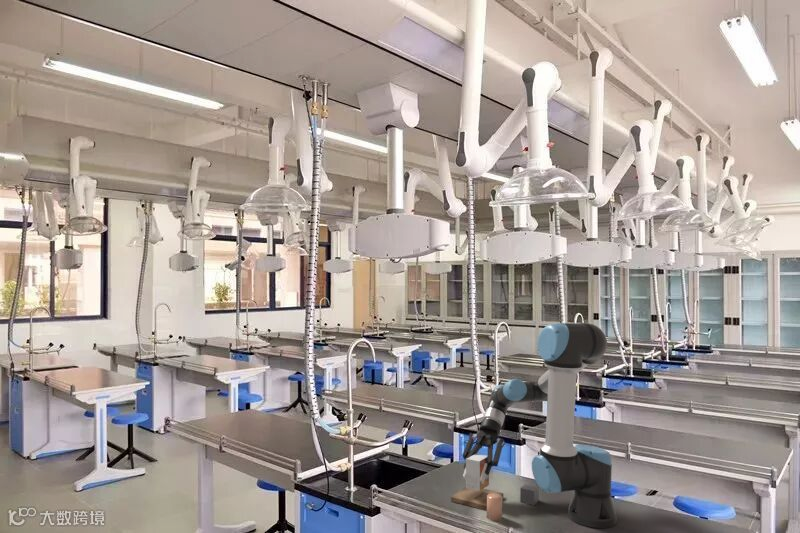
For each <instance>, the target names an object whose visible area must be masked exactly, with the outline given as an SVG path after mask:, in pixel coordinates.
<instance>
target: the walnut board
mask: <svg viewBox="0 0 800 533" xmlns="http://www.w3.org/2000/svg"><path fill="white" fill-rule="evenodd" d="M492 493H495V494H499V495H501V496H502V499H504V492H499V491H495V490H491V489H487V488H483V489H482V490H481V491H476V490H471V489H467V488H466V486H464V487H463V488H462V489H460V490H459V491H458V492H456V493H455V494H453V495H451V497H450V502H452V503H456V504H460V505H464V506H469V507H471V508H472V507H473V508H476V509H480V510H484V511H487V495H488V494H492Z"/></svg>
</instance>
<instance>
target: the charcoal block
mask: <svg viewBox="0 0 800 533" xmlns="http://www.w3.org/2000/svg"><path fill="white" fill-rule="evenodd" d="M539 490H540V487H539V486H538V485H532V484H527V483H525V484H523V485H522V486H521V487H520V494H519V496H520V497H519V498H520V499H519V500H520V501H519V502H520V503H523V504H526V503H527V504H526V505H530V504H531V506H536V504H537V503H539V501H540V500H539V498H540V495H539V494H540V491H539Z"/></svg>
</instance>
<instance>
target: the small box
mask: <svg viewBox="0 0 800 533" xmlns="http://www.w3.org/2000/svg"><path fill="white" fill-rule="evenodd" d="M487 457H488V454H486V455H485V454H480V453H477V454H476V453H475V454H474V455H472V456H471V457H469V458H467V459H466V460H465V461H466V480H465V487H466V488H467V489H471V490H476V491H481V490H482V489H486V488H487V487H488V486H490V474H489V475H486V478H485V481H484V484H481V482H480V476H481V473H482V470H483V467H484V464H485V463H487ZM487 464H488V463H487Z"/></svg>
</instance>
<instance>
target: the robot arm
mask: <svg viewBox="0 0 800 533" xmlns="http://www.w3.org/2000/svg"><path fill="white" fill-rule="evenodd" d="M607 340H608V339H607V337H606V334H605V333H604V331H603V330H602V329H601V328H600V327H598V326H597V325H595V324H593V323H590V322H589V323H588V322H581V323H577V322H574V323H573V322H572V323H571V322H570V323H569V322H564V323H562V322H558V323H550V324H547V325H546V326H544V328H543V329H542V330H540V333H539V336H538V339H537V351H538V354H539V356H540V357H541V360H544V366H545V367H547V369H548V370H546V371H545V372H544V373H543V374H542V375H541V376H540V377H539V378H537V379H536V380H533V381H530V380H529V381H523V380H521V379H518V378H513V379H511V380H509V381H507V382H506V383H505V384H498V385H494V387H493V389H492V391H491V393H490V397H489V400H488V404H487V406H486V409H485V412H484V415H483V417H482V421H481V424H480V426H479V429H478V431H477V432H476V433H472V432H470V433H469V435H468V440H467V443H466V445H465V447H464V450H463V453H462V455H461V456H462V458H463V460H465V461H464V465H463V468H464V471H463V475H462V478H463V479H464V481H466V459H467V458H469V457H471V456H472V455H474V454H475V453H476V454H478V452H480V450H481V449H482V448H483V447H487V456H488V457H487V463H488V464H487V463H485V464H484V467H483V470H482V473H481V476H480V482H481V484H484V481H485V478H486V475H489V476H490V473H491V470H492V468H493V467H498V466H499V463H500V462H499V461H500V458H501V453H502V450H503V447H504V446H505V445H506V442H505V440H504V438H499V436H500V434H501V430H502V427H503V424H504V421H505V417H506V416H507V412H508V409H509V408H510V407H512V406H514V405H515V404H517V403H530V402H532V403H533V402H534V403H535V402H547V404H546V423H545V442H544V443H542V444H541V445H540V447H539V454H537V455H536V454H535V456H534V457H533V458H532V461H531V471H532V472H531V473H532V476H533V478H534V480H535V482H536V485H537V486H538V487H539V489H541V490H542V491H543V492H545V493H548V494H555V493H556V494H560V493H563V492H569V491H573V494H572V496H571V499H570V502H569V505H568V509H567V513H568V514H567V515H568V518H569V519H570V520H571V521H573V522H574V523H577V524H579V525H582V526H584V527H590V528H595V529H596V528H598V529H606V528H611V527H613V526H616V524H617V521H618V520H617V512H616V509H615V505H614V502H613V499H612V469H613V468H612V466H613V464H612V454H611V453H610V452H609V451H608V450H606V449H604V448H601V447H599V446H596V445H595V446H593V445H590V444H589V445H588V444H579V443H578V444H576V445H575V446H574V433H575V432H574V430H575V429H574V428H575V412H576V409H575V408H576V394H577V393H576V392H577V391H576V390H577V374H579V373H580V372H581V371H582V370H584V368H586V367H587V366H592V365H595V363H597V362H598V361H600V359H601V358H602V357H604V355H605V353H606V352H607V348H608V341H607ZM476 439H477V440H476ZM474 442H475V443H474ZM496 443H497V445H496V448H495V452H494V451H493V450H494V445H495V444H496ZM493 452H494V454H493Z"/></svg>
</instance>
